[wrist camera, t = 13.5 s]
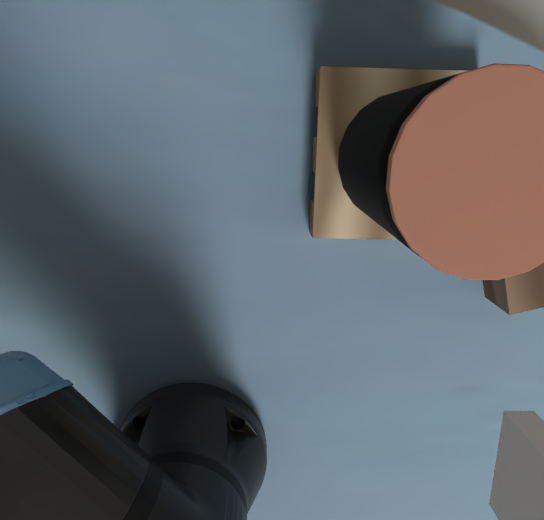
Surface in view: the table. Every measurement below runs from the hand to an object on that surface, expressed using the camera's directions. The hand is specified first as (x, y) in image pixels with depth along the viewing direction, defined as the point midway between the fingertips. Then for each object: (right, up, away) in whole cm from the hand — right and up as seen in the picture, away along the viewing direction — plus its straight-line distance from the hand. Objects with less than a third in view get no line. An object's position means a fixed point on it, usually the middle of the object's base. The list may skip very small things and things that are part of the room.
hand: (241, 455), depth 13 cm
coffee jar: (+11, +13, +30) cm, 35 cm away
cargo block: (+23, +4, +35) cm, 42 cm away
